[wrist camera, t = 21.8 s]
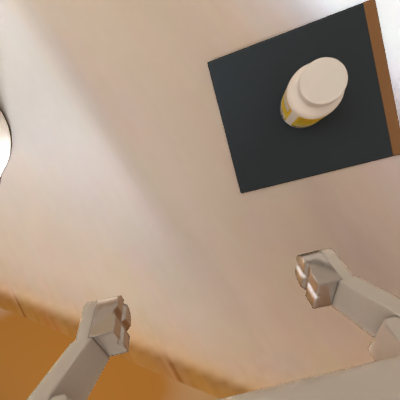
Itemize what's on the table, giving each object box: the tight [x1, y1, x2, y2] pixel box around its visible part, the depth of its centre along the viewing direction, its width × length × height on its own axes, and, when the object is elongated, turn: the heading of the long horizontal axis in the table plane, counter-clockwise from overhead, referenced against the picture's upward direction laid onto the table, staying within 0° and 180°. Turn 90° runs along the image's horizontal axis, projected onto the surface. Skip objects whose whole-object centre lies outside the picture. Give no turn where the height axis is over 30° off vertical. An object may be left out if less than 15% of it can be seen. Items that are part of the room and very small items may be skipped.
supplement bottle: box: [280, 57, 348, 128], centre depth 27 cm, size 5×5×10 cm
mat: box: [208, 0, 400, 193], centre depth 31 cm, size 20×18×1 cm
